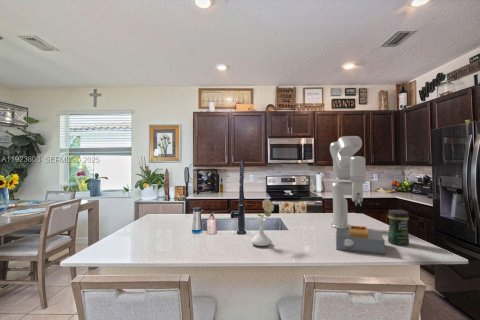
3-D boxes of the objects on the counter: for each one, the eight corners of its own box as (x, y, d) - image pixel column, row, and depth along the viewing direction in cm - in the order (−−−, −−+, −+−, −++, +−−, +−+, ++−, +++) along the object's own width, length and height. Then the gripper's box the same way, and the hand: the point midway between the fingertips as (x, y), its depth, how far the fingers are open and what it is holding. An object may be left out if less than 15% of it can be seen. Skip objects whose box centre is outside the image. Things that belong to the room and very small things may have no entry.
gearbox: (336, 239, 148) (336, 222, 148) (379, 244, 140) (379, 225, 140) (336, 250, 131) (336, 230, 131) (385, 255, 123) (384, 234, 123)
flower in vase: (254, 248, 134) (254, 201, 134) (248, 242, 145) (248, 198, 145) (277, 246, 137) (277, 199, 137) (269, 240, 148) (269, 197, 148)
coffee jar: (394, 245, 137) (394, 211, 137) (385, 241, 145) (385, 208, 145) (412, 245, 137) (411, 211, 138) (402, 241, 145) (401, 208, 146)
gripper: (349, 178, 146) (349, 208, 146) (350, 180, 130) (350, 214, 130) (364, 178, 143) (364, 208, 143) (367, 181, 127) (367, 215, 127)
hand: (357, 211), depth 137 cm, fingers open, 9 cm apart
